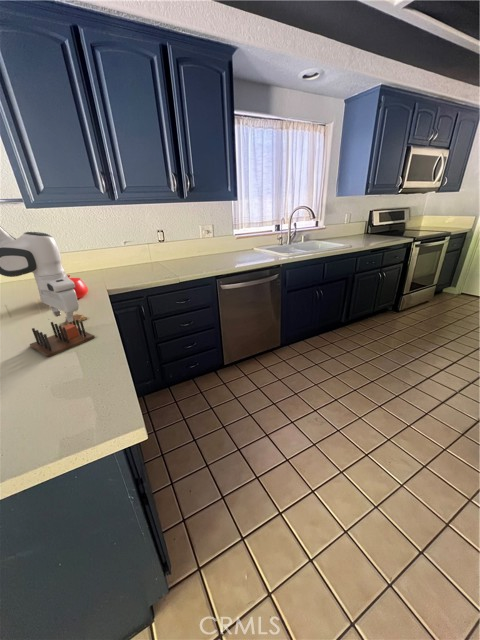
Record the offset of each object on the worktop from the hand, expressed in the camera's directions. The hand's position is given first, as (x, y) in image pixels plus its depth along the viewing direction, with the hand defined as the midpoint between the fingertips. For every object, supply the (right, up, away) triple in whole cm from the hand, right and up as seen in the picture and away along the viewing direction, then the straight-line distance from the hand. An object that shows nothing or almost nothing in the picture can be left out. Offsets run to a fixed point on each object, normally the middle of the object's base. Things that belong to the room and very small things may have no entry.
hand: (63, 318), depth 96 cm
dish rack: (-1, -9, +1) cm, 9 cm away
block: (+1, -7, +3) cm, 8 cm away
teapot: (-27, +12, +48) cm, 56 cm away
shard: (-6, -2, +18) cm, 19 cm away
